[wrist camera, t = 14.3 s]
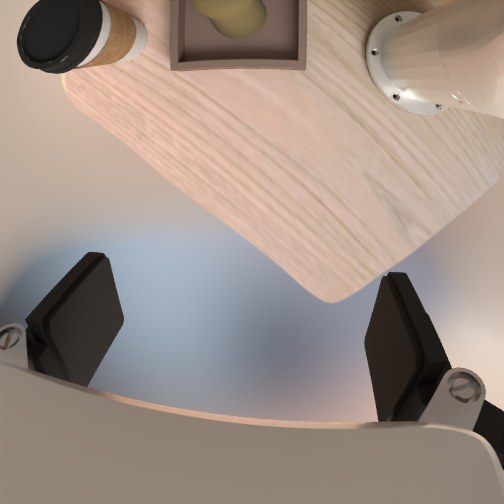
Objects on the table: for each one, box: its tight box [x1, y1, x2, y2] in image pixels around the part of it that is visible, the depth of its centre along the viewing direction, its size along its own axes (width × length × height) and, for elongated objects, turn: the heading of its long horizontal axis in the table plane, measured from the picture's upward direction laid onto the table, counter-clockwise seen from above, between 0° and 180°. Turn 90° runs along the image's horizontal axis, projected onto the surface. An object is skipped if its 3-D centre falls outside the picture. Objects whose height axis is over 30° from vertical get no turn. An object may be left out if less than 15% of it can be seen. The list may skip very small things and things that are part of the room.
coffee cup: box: [17, 0, 147, 74], centre depth 23 cm, size 8×8×15 cm
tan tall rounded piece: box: [192, 0, 267, 39], centre depth 23 cm, size 6×6×11 cm
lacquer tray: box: [171, 0, 307, 71], centre depth 27 cm, size 14×12×3 cm
